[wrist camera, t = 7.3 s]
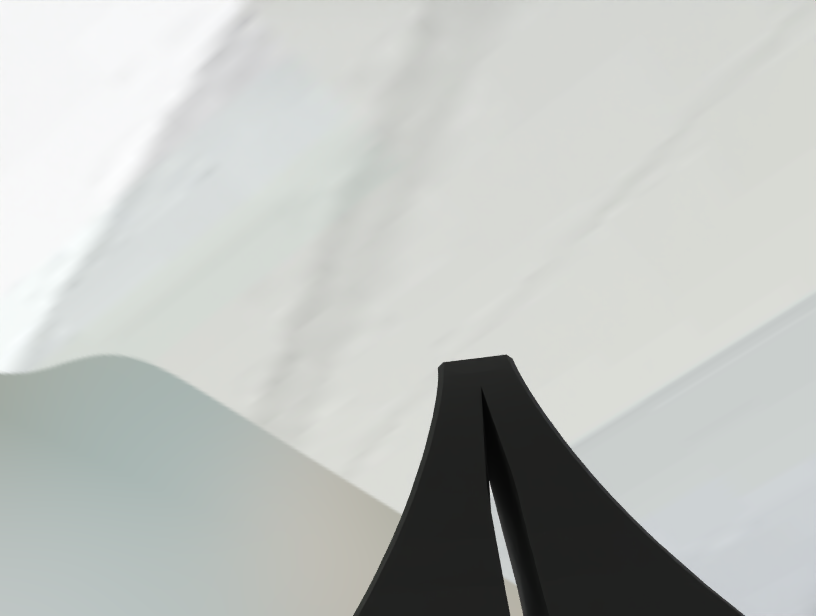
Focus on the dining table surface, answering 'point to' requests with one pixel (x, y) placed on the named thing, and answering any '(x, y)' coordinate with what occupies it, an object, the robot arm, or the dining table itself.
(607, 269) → the dining table surface
